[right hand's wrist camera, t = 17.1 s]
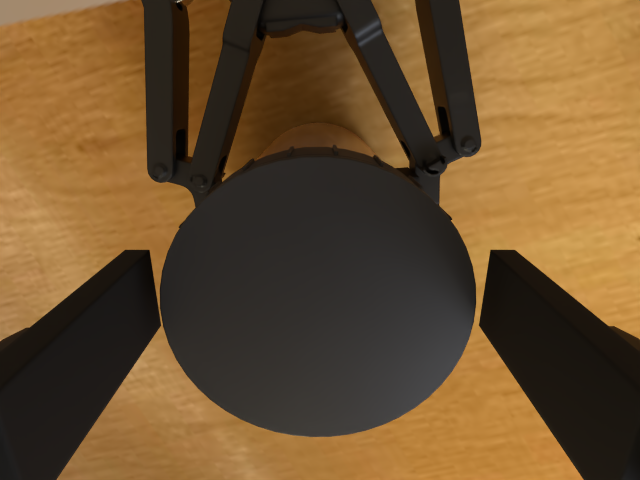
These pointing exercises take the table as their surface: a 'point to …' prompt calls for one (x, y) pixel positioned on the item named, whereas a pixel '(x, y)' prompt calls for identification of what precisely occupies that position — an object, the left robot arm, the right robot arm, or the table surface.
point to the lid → (317, 293)
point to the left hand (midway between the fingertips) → (325, 292)
